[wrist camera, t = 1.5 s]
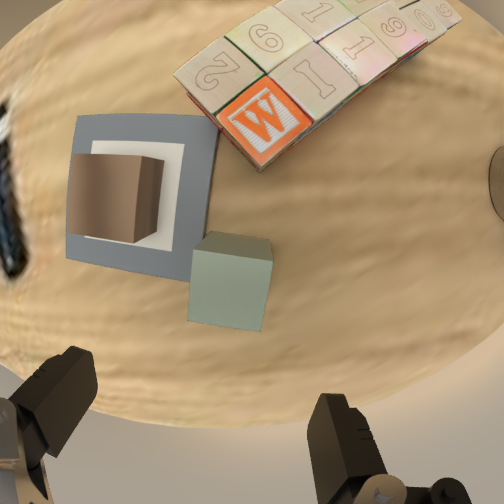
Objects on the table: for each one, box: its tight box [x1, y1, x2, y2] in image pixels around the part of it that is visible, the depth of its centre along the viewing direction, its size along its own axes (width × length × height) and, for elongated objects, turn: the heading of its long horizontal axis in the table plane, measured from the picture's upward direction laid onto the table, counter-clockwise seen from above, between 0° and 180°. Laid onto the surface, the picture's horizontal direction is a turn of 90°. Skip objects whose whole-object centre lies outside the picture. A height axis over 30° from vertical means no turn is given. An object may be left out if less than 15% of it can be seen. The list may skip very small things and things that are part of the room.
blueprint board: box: [66, 114, 220, 282], centre depth 21 cm, size 14×14×6 cm
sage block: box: [187, 231, 274, 332], centre depth 22 cm, size 5×5×7 cm
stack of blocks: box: [173, 0, 462, 173], centre depth 15 cm, size 21×6×12 cm, turn 131°
